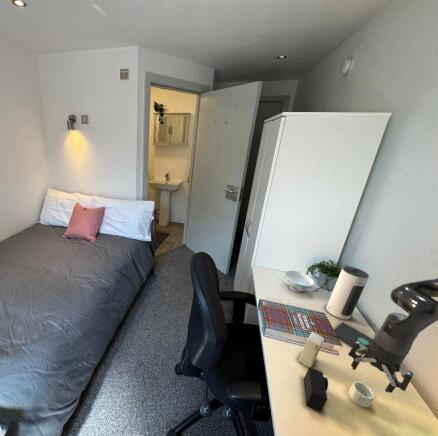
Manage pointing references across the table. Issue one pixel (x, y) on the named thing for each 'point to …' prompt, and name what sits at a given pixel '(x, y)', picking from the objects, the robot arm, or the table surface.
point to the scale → (350, 335)
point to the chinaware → (298, 281)
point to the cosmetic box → (311, 349)
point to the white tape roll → (361, 394)
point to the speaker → (347, 292)
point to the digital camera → (315, 389)
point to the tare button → (363, 342)
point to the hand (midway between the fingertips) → (369, 379)
